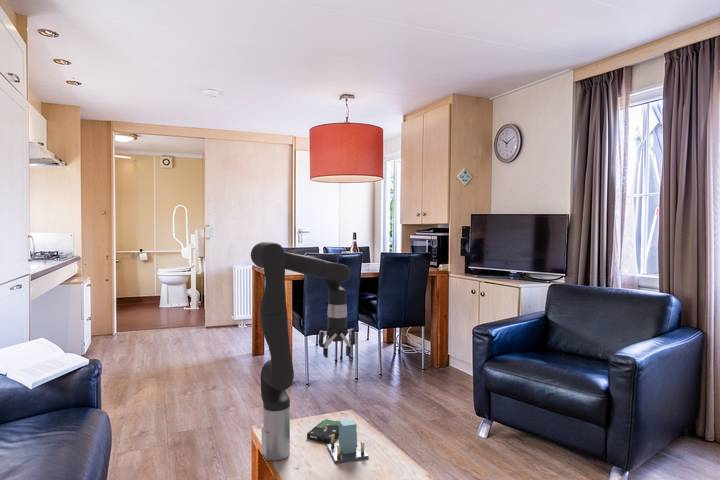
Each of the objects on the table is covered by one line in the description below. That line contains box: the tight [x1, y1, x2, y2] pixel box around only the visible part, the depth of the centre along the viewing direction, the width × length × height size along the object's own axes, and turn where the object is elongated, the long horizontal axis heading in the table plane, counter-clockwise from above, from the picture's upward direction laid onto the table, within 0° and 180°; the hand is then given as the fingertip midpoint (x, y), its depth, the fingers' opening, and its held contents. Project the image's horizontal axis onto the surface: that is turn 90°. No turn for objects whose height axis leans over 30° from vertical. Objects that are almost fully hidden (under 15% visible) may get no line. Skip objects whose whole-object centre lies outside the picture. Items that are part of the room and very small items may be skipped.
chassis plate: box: [326, 431, 370, 464], centre depth 163 cm, size 12×12×5 cm
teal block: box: [338, 418, 357, 454], centre depth 163 cm, size 5×5×10 cm
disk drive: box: [306, 418, 339, 444], centre depth 178 cm, size 10×3×15 cm
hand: (336, 356), depth 177 cm, fingers open, 8 cm apart
